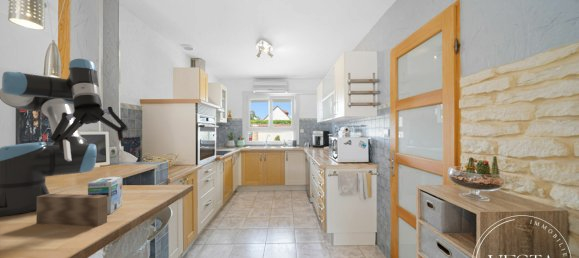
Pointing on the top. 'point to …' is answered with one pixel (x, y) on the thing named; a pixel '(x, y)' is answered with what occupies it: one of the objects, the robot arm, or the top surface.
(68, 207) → the walnut board
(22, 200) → the robot arm
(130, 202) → the top surface
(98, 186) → the light bulb box
